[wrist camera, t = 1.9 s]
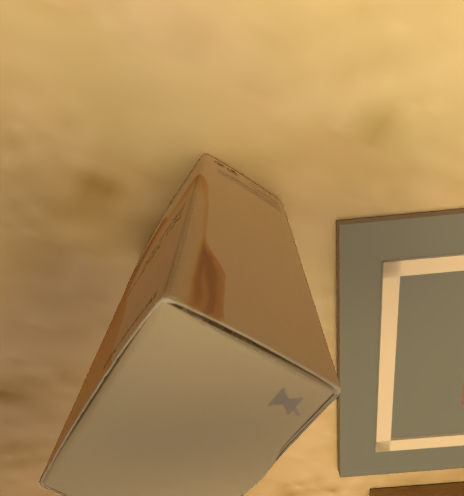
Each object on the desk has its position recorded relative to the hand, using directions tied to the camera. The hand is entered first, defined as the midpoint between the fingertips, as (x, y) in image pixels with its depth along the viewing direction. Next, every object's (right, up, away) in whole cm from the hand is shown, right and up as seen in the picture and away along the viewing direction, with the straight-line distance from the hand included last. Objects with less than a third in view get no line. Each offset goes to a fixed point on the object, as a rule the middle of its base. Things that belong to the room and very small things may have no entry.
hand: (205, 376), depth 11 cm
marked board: (+14, -2, +12) cm, 19 cm away
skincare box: (0, +4, +10) cm, 10 cm away
